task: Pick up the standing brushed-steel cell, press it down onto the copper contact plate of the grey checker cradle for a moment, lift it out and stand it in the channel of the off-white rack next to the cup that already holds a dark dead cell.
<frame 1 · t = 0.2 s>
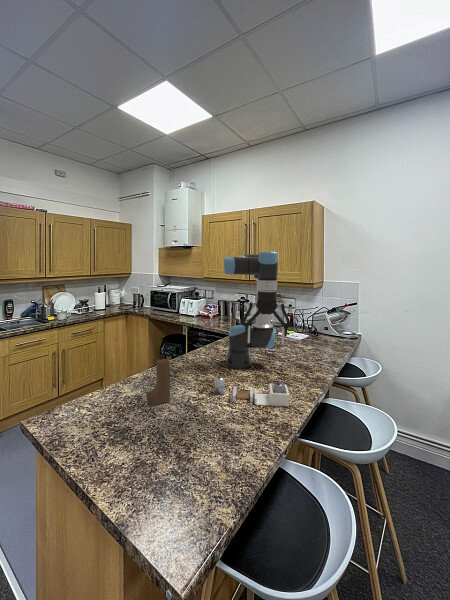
hand: (265, 343, 114), 27 cm above the counter, fingers open, 13 cm apart
wooden block: (158, 402, 121), on the counter
rack: (270, 402, 121), on the counter
contact plate: (243, 395, 123), point 2 cm above the counter, slide at -0.4 cm
cell A: (219, 392, 130), on the counter
cradle: (242, 400, 123), on the counter
cell B: (278, 399, 121), point 1 cm above the counter, touching rack
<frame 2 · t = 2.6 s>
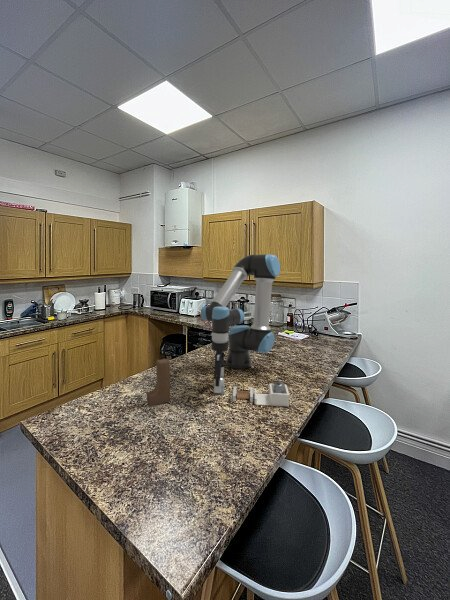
hand: (219, 386, 130), 3 cm above the counter, fingers open, 13 cm apart
nothing on the counter moved.
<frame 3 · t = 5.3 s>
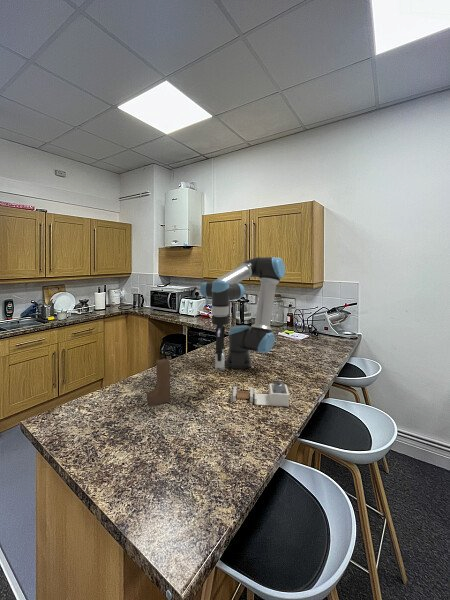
hand: (220, 365, 129), 13 cm above the counter, fingers closed on cell A, 4 cm apart
cell A: (219, 368, 129), point 12 cm above the counter, touching gripper
everything else where it was.
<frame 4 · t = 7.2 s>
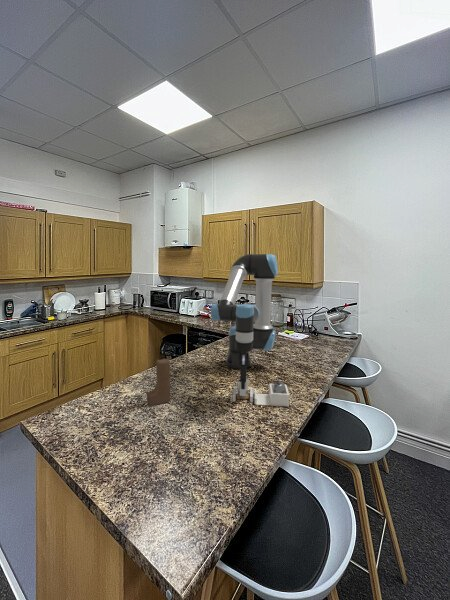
hand: (243, 392, 123), 3 cm above the counter, fingers closed on cell A, 4 cm apart
contact plate: (243, 397, 123), point 1 cm above the counter, slide at -1.5 cm
cell A: (242, 395, 123), point 2 cm above the counter, touching gripper
everything else where it was.
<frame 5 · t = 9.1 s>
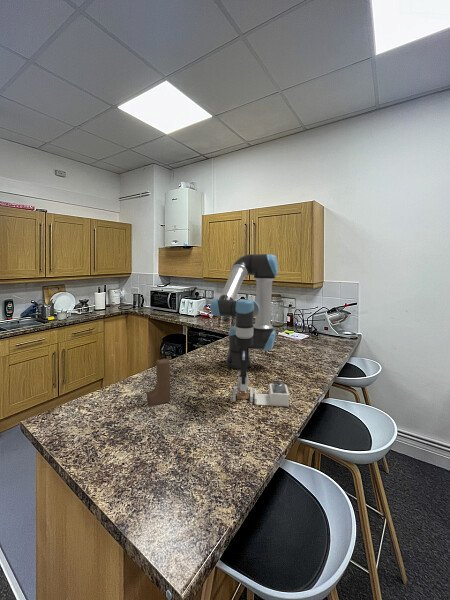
hand: (243, 387, 123), 5 cm above the counter, fingers closed on cell A, 4 cm apart
contact plate: (243, 396, 123), point 2 cm above the counter, slide at -1.2 cm
cell A: (243, 390, 123), point 4 cm above the counter, touching gripper
everything else where it was.
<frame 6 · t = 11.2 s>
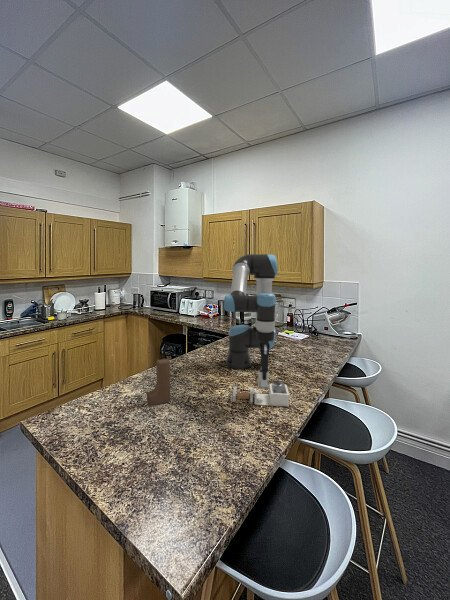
hand: (263, 383, 120), 9 cm above the counter, fingers closed on cell A, 4 cm apart
cell A: (263, 387, 120), point 7 cm above the counter, touching gripper
everything else where it was.
when the fingers open (2 cm above the counter, at t = 12.3 s): cell A stays where it is, resting on rack.
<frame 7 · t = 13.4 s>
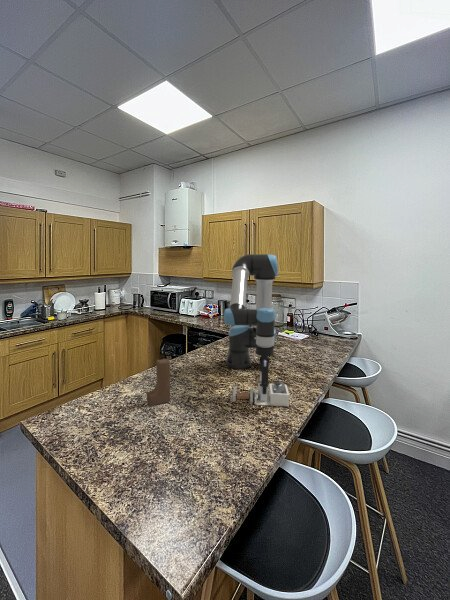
hand: (263, 393, 121), 4 cm above the counter, fingers open, 13 cm apart
cell A: (262, 399, 121), point 1 cm above the counter, touching rack
everything else where it was.
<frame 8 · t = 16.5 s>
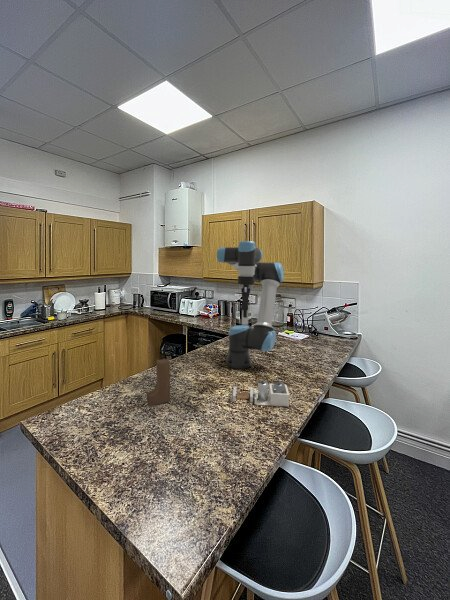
hand: (245, 321, 131), 33 cm above the counter, fingers open, 13 cm apart
nothing on the counter moved.
at the end: cell A inside the target area on the rack (0.2 cm from its centre), point 1.5 cm above the rack's base; cell A tilted 0°; the gripper is holding nothing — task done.
